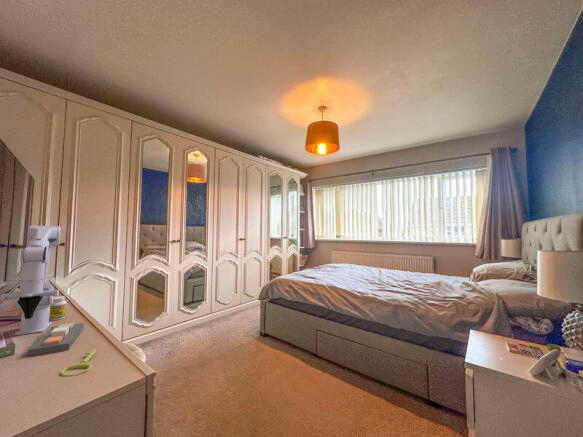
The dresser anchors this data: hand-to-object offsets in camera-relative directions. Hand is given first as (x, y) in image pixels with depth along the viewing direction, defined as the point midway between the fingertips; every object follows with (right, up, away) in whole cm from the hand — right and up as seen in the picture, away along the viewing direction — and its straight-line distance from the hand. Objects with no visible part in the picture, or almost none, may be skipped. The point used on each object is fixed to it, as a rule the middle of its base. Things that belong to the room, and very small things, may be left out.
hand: (29, 317), depth 85 cm
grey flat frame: (+8, -10, +3) cm, 13 cm away
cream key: (+8, -8, +3) cm, 12 cm away
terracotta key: (+11, -9, -2) cm, 14 cm away
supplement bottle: (-13, -10, +23) cm, 29 cm away
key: (+30, -11, -12) cm, 34 cm away
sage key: (+5, -9, +9) cm, 14 cm away
